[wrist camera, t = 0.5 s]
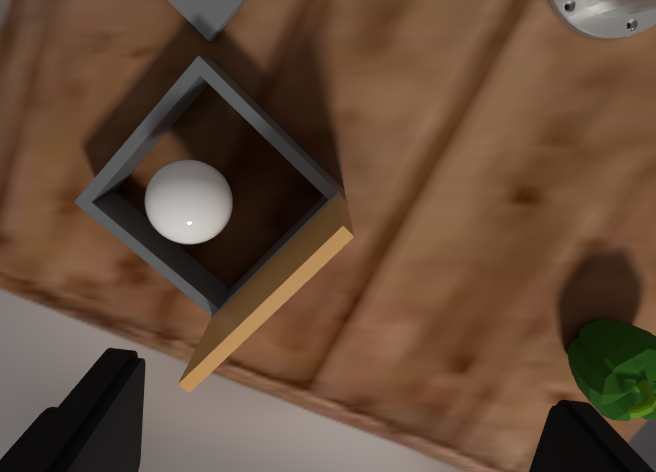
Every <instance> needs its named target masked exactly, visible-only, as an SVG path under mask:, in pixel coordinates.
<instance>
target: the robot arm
mask: <svg viewBox="0 0 656 472" xmlns="http://www.w3.org/2000/svg"><path fill="white" fill-rule="evenodd" d="M548 2H549V4H550V6H551V8H552V9H553V11H554V12H555V14H556V15H557V17H558V18H559V19H560V20H561V21H562V22H563V23H564V24H565V25H566V26H568V27H569V28H570V29H572V30H574V31H575V32H577V33H579V34H581V35H584V36H587V37H591V38H594V39H607V40H608V39H616V38H623V37H627V36H632V35H635V34H638V33H640V32H642V31H645V30H647V29H649V28H651V27H653V26H654V25H656V0H548ZM565 5H566V6H567V10H565V8H564V7H565ZM627 26H628V27H627ZM144 382H145V360H144V359H142V358H138V355H137V352H136V351H133V350H123V349H115V348H108V349H107V350H106V351H105V352H104V353H103V354H102V356H101V357H100V358H99V359H98V360H97V361H96V363H95V364H94V365H93V366H92V367H91V369H90V370H89V371H88V372H87V373H86V375H85V376H84V377H83V378H82V379H81V380H80V382H79V383H78V384H77V385H76V386H75V388H74V389H73V390H72V391H71V392H70V394H69V395H68V396H67V397H66V398H65V400H64V401H63V402H62V403H61V404H60V405H59V407H50V408H47V409H46V410H45V411H43V413H41V414H40V415H39V417H38V418H37V419H36V420H35V421H34V422H33V423H32V424H31V426H30V427H29V428H28V429H27V430H26V431H25V432H24V434H23V435H22V436H21V437H20V438H19V439H18V440H17V441H16V443H15V444H14V445H13V446H12V447H11V448H10V449H9V451H8V452H7V453H6V454H5V455H4V456H3V458H2V459H1V460H0V472H138V469H139V465H140V458H141V439H142V419H143V400H144ZM529 472H654V471H653V470H652V469H651V468H650V467H649V466H648V465H647V463H646V462H645V461H644V460H643V459H642V458H641V457H640V456H639V455H638V454H637V453H636V452H635V451H634V450H633V449H632V448H631V447H630V446H629V444H628V443H627V442H626V441H625V440H624V439H623V438H622V437H621V436H620V435H619V434H618V433H617V432H616V431H615V430H614V429H613V428H612V427H611V425H610V424H609V423H608V422H607V421H606V420H605V419H604V418H603V417H602V416H601V415H600V414H599V413H598V412H597V411H596V410H595V409H594V408H593V407H592V406H591V405H590V404H589V403H586V402H578V401H569V400H561V401H559V402H558V403H557V405H555V406H552V407H551V409H550V411H549V414H548V417H547V420H546V423H545V426H544V429H543V432H542V435H541V438H540V441H539V444H538V447H537V450H536V453H535V456H534V459H533V462H532V465H531V468H530V471H529Z"/></svg>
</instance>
